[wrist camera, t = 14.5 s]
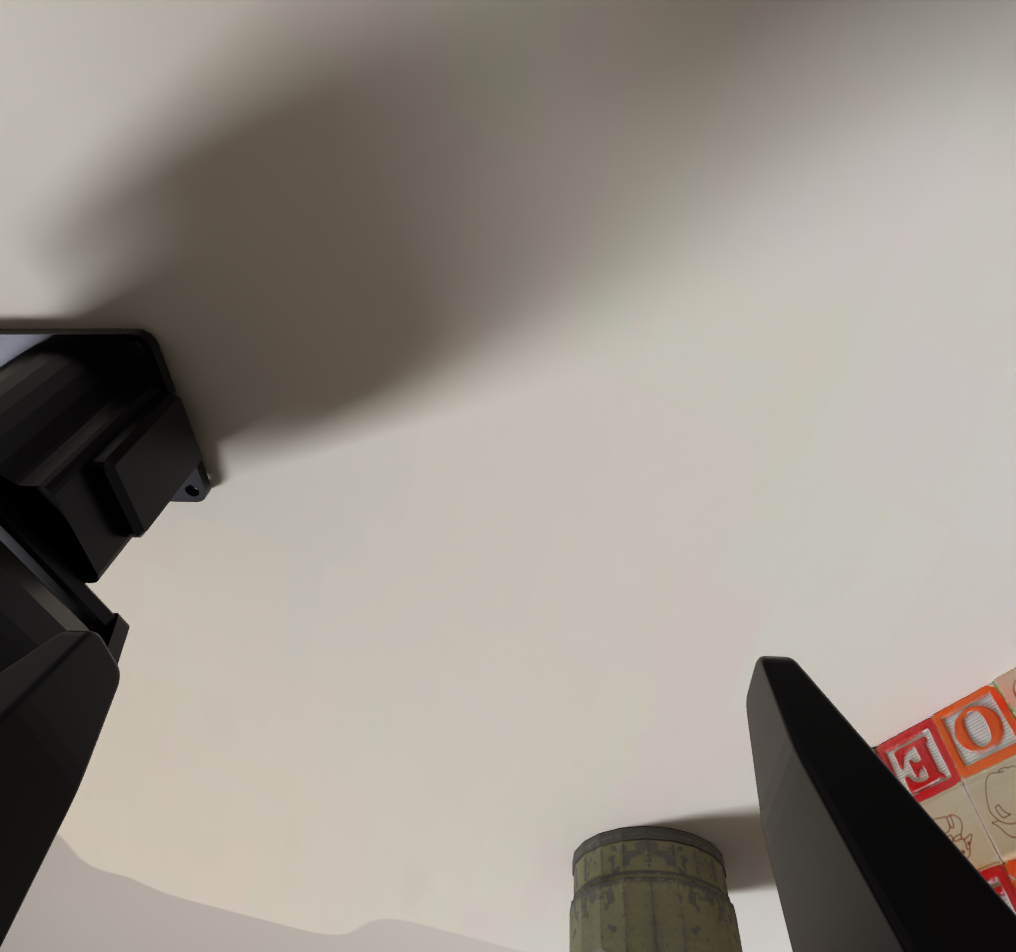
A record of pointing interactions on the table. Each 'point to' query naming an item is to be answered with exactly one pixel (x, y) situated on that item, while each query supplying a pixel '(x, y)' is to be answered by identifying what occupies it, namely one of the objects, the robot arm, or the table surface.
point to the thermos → (651, 894)
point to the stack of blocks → (968, 777)
